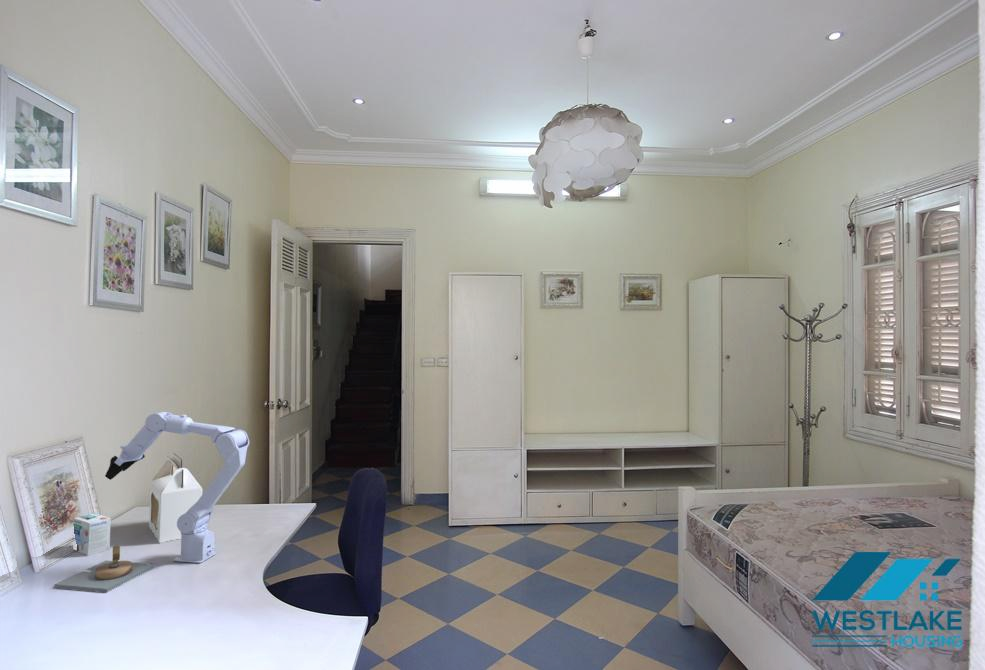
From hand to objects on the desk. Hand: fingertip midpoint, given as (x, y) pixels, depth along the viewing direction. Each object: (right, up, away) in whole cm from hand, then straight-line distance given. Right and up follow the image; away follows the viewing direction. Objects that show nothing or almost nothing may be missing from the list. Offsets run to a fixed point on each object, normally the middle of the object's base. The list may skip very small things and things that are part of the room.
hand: (115, 473), depth 173 cm
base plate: (+9, -27, -16) cm, 33 cm away
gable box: (+6, -28, +23) cm, 37 cm away
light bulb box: (-11, -27, +4) cm, 30 cm away
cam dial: (+11, -26, -15) cm, 31 cm away
